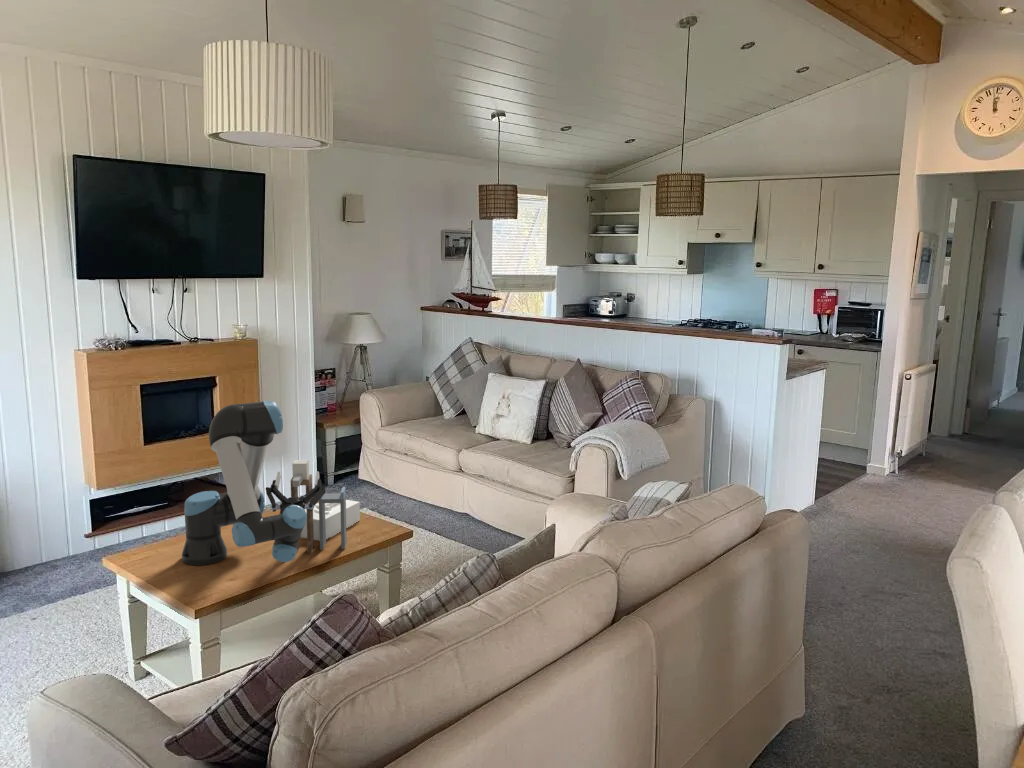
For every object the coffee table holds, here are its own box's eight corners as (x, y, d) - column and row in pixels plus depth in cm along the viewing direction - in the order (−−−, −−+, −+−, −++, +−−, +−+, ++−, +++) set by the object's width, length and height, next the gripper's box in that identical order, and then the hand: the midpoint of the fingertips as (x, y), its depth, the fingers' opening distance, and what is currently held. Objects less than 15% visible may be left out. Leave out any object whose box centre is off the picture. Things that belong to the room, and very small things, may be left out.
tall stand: (292, 553, 282) (290, 480, 277) (296, 546, 289) (293, 474, 284) (311, 553, 282) (308, 479, 278) (313, 546, 289) (311, 474, 285)
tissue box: (292, 536, 300) (291, 509, 298) (330, 516, 323) (330, 491, 321) (323, 542, 295) (322, 514, 293) (360, 521, 317) (359, 496, 316)
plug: (288, 486, 269) (287, 470, 268) (295, 475, 283) (294, 460, 282) (303, 486, 270) (302, 469, 269) (309, 475, 283) (308, 459, 282)
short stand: (320, 549, 286) (318, 492, 283) (322, 542, 293) (321, 487, 289) (344, 549, 287) (343, 492, 283) (346, 542, 294) (345, 486, 290)
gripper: (253, 527, 260) (264, 481, 276) (328, 526, 263) (335, 480, 279) (250, 513, 255) (261, 467, 272) (326, 511, 258) (333, 466, 274)
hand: (298, 473), depth 275 cm, fingers open, 13 cm apart
